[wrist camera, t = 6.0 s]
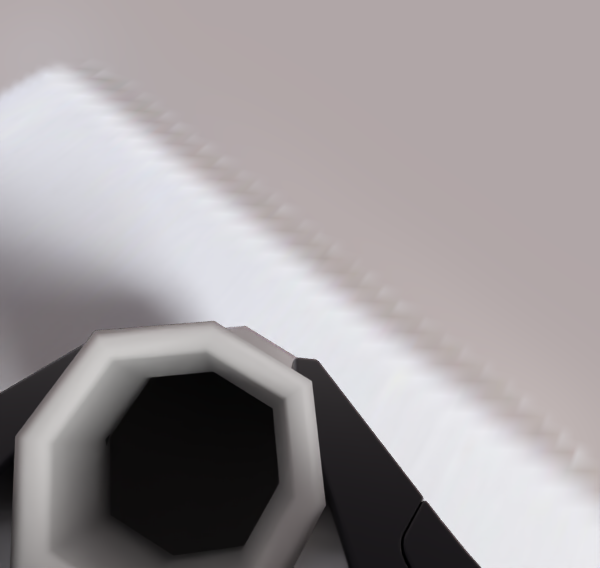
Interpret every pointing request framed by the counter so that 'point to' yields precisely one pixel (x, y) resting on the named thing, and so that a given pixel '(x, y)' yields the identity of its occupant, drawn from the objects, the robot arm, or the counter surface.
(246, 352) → the flask
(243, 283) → the counter surface
